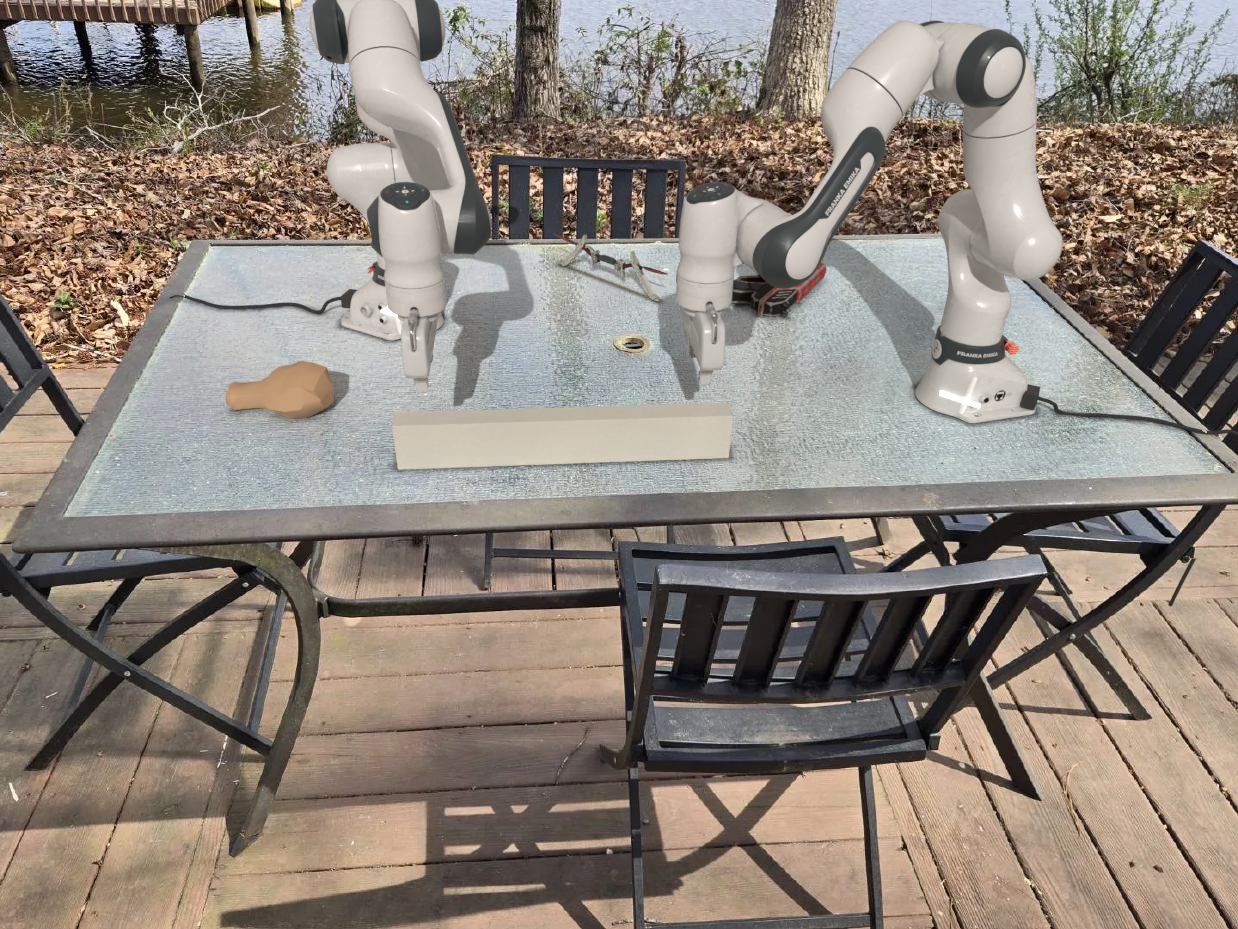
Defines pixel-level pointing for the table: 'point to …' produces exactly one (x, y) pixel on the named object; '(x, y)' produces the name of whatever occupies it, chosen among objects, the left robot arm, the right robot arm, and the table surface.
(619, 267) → the bow
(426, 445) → the beam
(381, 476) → the table surface
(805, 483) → the table surface
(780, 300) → the gun
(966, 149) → the right robot arm
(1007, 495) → the table surface
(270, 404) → the squash
